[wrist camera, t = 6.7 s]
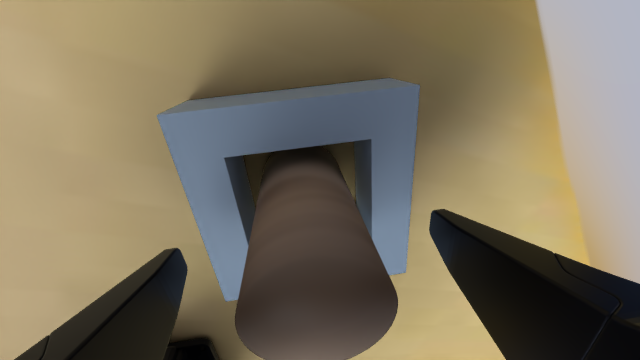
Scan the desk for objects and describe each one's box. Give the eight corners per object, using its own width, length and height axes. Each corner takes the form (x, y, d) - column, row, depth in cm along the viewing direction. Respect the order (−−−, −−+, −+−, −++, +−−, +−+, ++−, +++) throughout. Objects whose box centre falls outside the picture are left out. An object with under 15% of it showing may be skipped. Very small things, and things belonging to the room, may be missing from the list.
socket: (385, 235, 16) (405, 272, 13) (236, 258, 15) (225, 301, 13) (389, 77, 12) (419, 85, 9) (187, 100, 11) (156, 115, 9)
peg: (341, 206, 15) (395, 352, 7) (270, 216, 14) (253, 378, 7) (337, 137, 13) (401, 242, 6) (255, 147, 13) (214, 271, 5)
